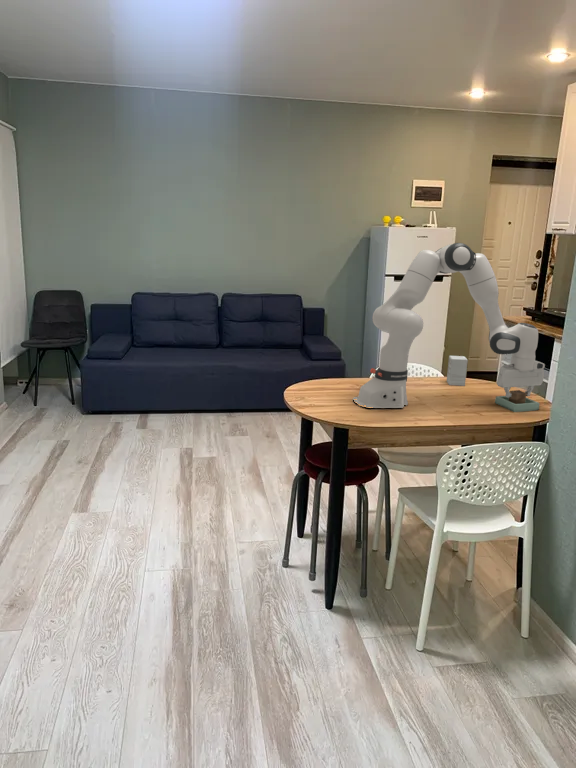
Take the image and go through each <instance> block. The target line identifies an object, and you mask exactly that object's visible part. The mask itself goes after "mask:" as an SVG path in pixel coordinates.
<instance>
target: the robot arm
mask: <svg viewBox="0 0 576 768" xmlns="http://www.w3.org/2000/svg"><path fill="white" fill-rule="evenodd" d="M439 273H440V274H444V275H445V274H446V275H447V274H455V273H460V274H461V275H462V276H463V278H464V280H465V283H466V286H467V290H468V291H469V294H470V296H471V297H472V299H473V300H474V302H475V303H476V304H478V306H480V308H481V309H482V312H483V314H484V317H485V319H486V323H487V325H488V329H489V330H488V331H489V332H488V341H489V346H490V349H491V351H492V352H493V353H495V354H497V355H511V359H510V364H503V365H502V366H501V367H500V369H499V373H498V375H497V379H496V385H497V386H498V387H500V388H503V389H504V392H505V395H504V396H506V397H507V398H510V397H511V395H512V394H511V393H510V391H511V388H515V387H516V388H519V387H527V389H526V390H525V391H524V392H525V393H527V394H526V397H530V396H531V393H532V392H533V390H534V389H535V388H534V387H535V386H541V385H542V384H543V382H544V378H545V377H544V375H545V370H544V369H545V368H546V367H545V366H546V364H545V362H544V363H543V362H541V361H538V360H536V350H537V348H538V343H539V329H538V328H537V327H536V326H535V325H533V324H530V323H526V322H518V323H517V324H516V325H514V326H511V327H509V326H508V325H507V324H506V322H505V320H504V317H503V315H502V311H501V308H500V305H499V285H498V281H497V277H496V274H495V272H494V269H493V267H492V265H491V263H490V261H489V259H488V258H487V256H486V255H485V254H484V253H481V252H480V253H479V252H477V253H475V252H474V250H472V248H471V247H470V246H469V245H467V244H466V243H463V242H456V243H451V244H450V243H449V244H447V245H445V246H443V247H441V248H439V249H437V250H436V251H433V250H431V249H422V250H420V251H419V252H418V253H417V255H416V256H415V257H414V259H412V261H411V263H410V265H409V266H408V268H407V270H406V271H405V274H404V276H403V278H402V279H401V282H400V283H399V286H398V287H397V288H396V290H395V291H394V293H393V294H392V295H391V296H390V297H389V298H388V299H387V300H386V301H385V302H384V303H383V304H381V305H380V306H378V307H376V308H375V310H374V311H373V313H372V323H373V325H374V326H375V327H376V328H377V329H378V330H380V331H381V332H383V333H388V339H387V342H386V343H385V345H383V346H382V347H381V348H380V353H379V364H378V365H379V366H378V368H377V369H375V368H373V367H372V368H371V369H370V370H369V371H370V373H371V374H373V375H374V377H372V378H371V379H370V380H368V381H367V382H365V383H364V384H363V385H361V386H360V388H359V393H358V396H354V397H352V401H353V400H354V399H357V400H354V401H355V402H357V403H358V404H360V405H363V406H364V405H366V407H373V408H403V407H404V408H405V406H404V405H406V406H408V404H409V403H408V396H407V381H408V373H409V370H408V361H409V353H410V349H411V347H412V344H413V341H414V340H415V339H416V338H417V337H418V336H419V335H420V334H421V333H422V331H423V329H424V320H423V317H422V316H421V315H420V314H419V313H417V312H415V311H413V308H415V307H416V306H417V305H418V304H420V303H422V302H423V301H424V300H425V298H426V296H427V294H428V293H429V290H430V288H431V286H432V284H433V282H434V280H435V279H436V276H437V275H438V274H439ZM404 408H403V409H404Z"/></svg>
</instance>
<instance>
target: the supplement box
mask: <svg viewBox="0 0 576 768" xmlns="http://www.w3.org/2000/svg"><path fill="white" fill-rule="evenodd" d="M468 362H469V359H467V357H466V356H463V355H460V356H459V355H448V363H447V365H448V366H447V374H446V383H447V384H448V385H449V386H458V387H459V386H462V387H465V386H466V380H467V379H466V378H467V368H468Z"/></svg>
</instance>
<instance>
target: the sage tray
mask: <svg viewBox="0 0 576 768" xmlns="http://www.w3.org/2000/svg"><path fill="white" fill-rule="evenodd" d="M495 403H496V404H495ZM494 404H495V405H497V404H498V406H499V405H500V407H502V408H504V409H506V410H507V411H508V410H509V411H511V412H513V413H520V412H522V413H523V412H531V411H532V412H533V411H539V410H540V404H541V403H540V402H539V401H536V400H533V399H531V398H528V397H526V400H525V403H523V404H514V403H512V402H510V401H509V398H507V397H506V396H505V395H499V396H498V395H496V396H495V399H494Z"/></svg>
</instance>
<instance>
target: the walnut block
mask: <svg viewBox="0 0 576 768" xmlns="http://www.w3.org/2000/svg"><path fill="white" fill-rule="evenodd" d="M509 392H510V393H511V394H512V395H511V397H510V398H509V401H510V402H512V403H514V404H523V403H525V400H526V398H527V396H526V394H527V393H525V391H522V390H520V389H516V390H509Z"/></svg>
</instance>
